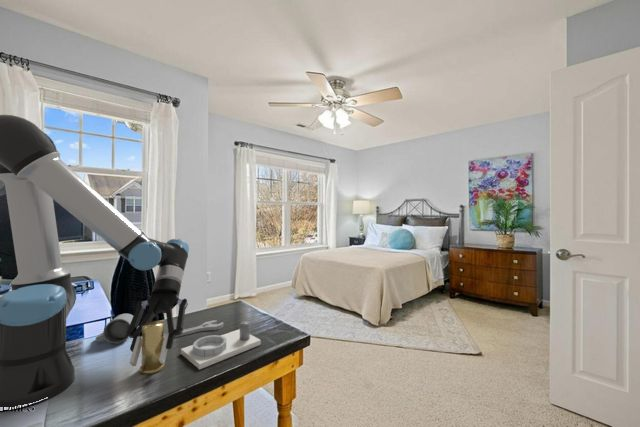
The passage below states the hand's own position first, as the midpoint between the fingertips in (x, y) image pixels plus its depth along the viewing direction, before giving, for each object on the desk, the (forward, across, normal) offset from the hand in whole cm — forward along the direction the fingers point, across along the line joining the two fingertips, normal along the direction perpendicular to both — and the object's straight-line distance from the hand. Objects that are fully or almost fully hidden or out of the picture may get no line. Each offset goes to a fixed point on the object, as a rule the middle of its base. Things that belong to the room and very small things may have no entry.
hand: (147, 363), depth 74 cm
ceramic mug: (-15, +18, -20) cm, 30 cm away
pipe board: (-6, -17, -11) cm, 21 cm away
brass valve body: (0, 0, -5) cm, 5 cm away
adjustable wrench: (-15, -3, -21) cm, 26 cm away
